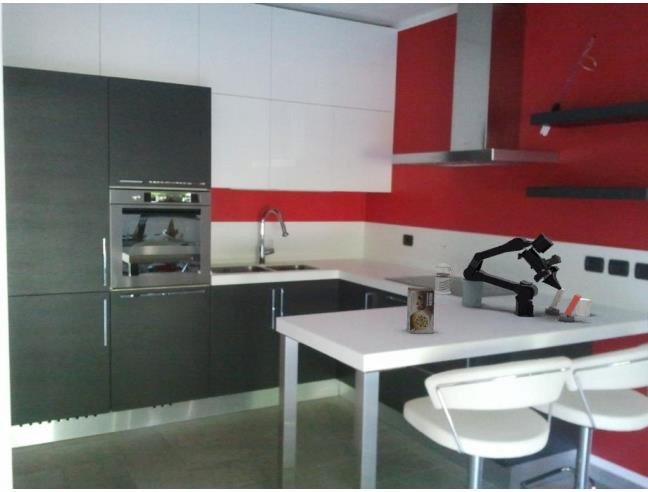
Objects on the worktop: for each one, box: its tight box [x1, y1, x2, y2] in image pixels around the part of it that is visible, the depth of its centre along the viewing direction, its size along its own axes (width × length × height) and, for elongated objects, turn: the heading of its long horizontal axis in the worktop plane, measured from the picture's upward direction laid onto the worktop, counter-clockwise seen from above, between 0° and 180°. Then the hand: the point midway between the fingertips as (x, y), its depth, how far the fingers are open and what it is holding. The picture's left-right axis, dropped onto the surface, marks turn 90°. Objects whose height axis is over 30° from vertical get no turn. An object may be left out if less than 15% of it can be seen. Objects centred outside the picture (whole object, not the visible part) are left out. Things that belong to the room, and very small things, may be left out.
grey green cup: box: [461, 278, 485, 308], centre depth 278 cm, size 10×10×12 cm
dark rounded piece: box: [557, 312, 575, 323], centre depth 248 cm, size 6×6×4 cm
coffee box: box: [406, 286, 435, 334], centre depth 222 cm, size 9×6×16 cm
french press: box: [433, 244, 455, 295], centre depth 312 cm, size 10×12×25 cm
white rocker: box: [550, 287, 566, 309], centre depth 261 cm, size 2×5×10 cm, turn 144°
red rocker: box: [564, 293, 583, 316], centre depth 246 cm, size 2×5×10 cm, turn 145°
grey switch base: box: [544, 305, 561, 316], centre depth 262 cm, size 6×6×4 cm
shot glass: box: [574, 297, 593, 317], centre depth 261 cm, size 7×7×7 cm
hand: (560, 289), depth 248 cm, fingers closed
